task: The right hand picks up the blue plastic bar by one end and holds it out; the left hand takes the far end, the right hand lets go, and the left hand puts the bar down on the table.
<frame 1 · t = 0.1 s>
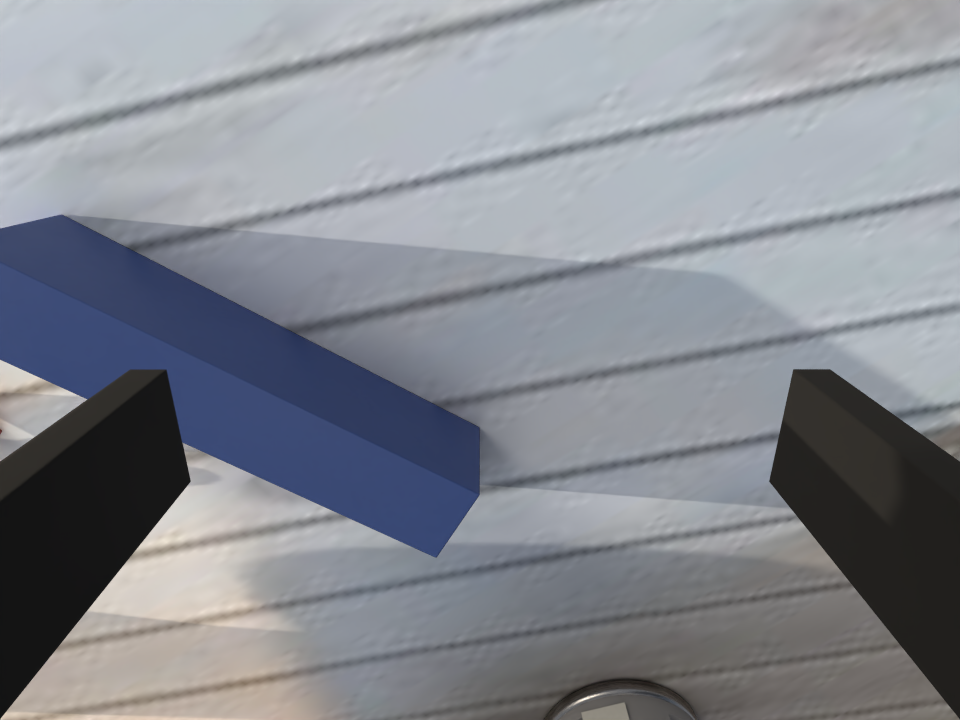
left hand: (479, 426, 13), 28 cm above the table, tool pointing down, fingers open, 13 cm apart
bar: (270, 360, 43), on the table
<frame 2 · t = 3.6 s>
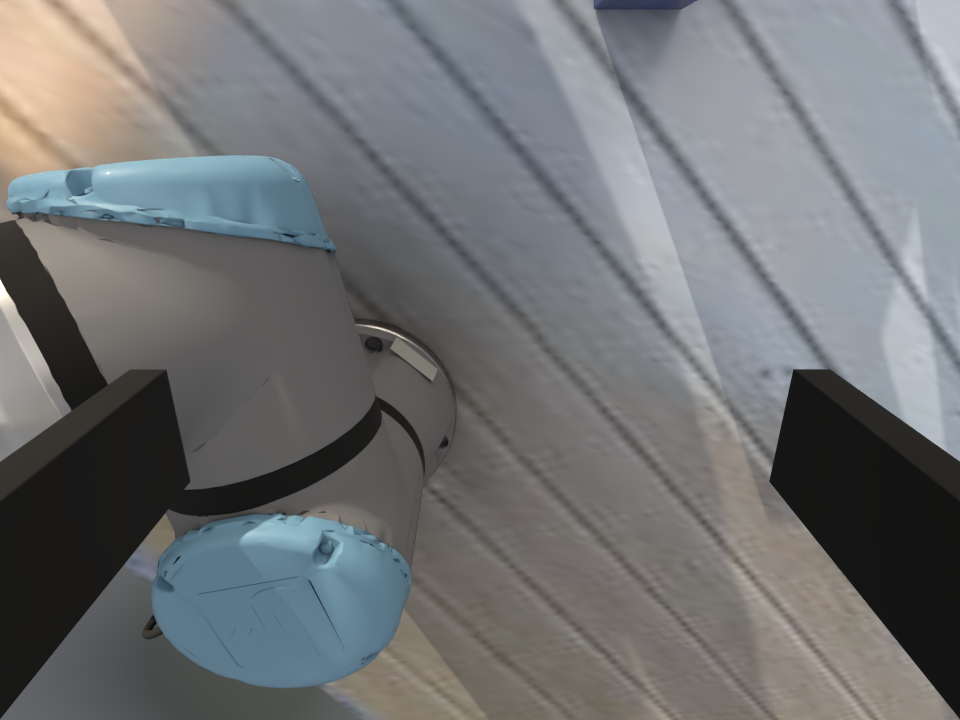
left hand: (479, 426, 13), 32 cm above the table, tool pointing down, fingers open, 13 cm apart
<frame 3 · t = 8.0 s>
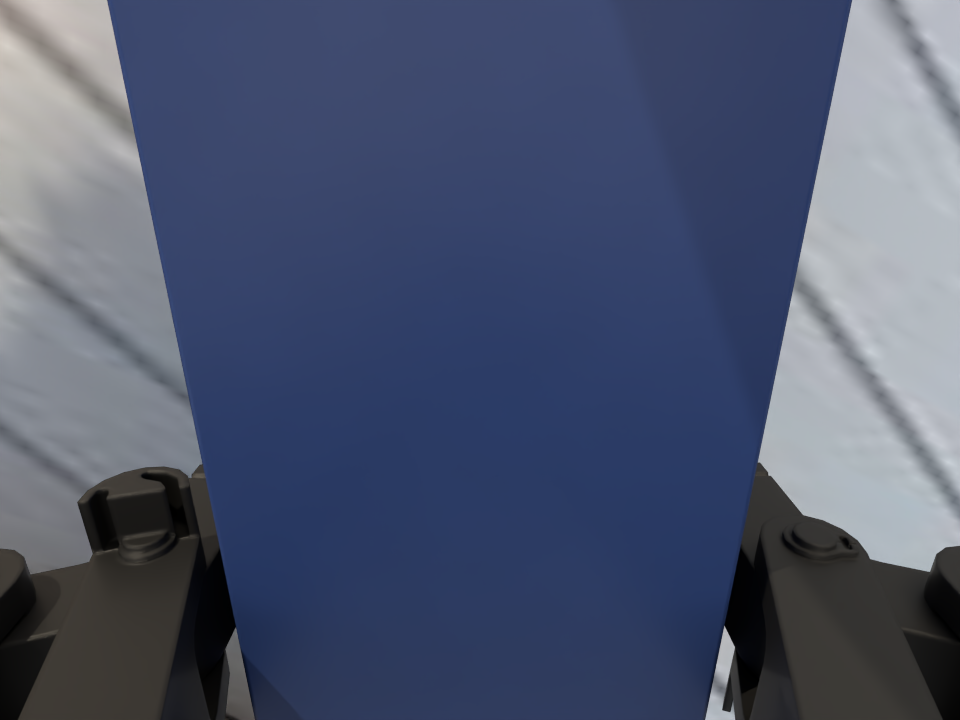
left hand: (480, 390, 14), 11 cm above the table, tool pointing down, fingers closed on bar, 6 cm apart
when the right hand's fingers open (11 cm above the table, at t = 8.7 s): bar stays where it is, held by the left hand.
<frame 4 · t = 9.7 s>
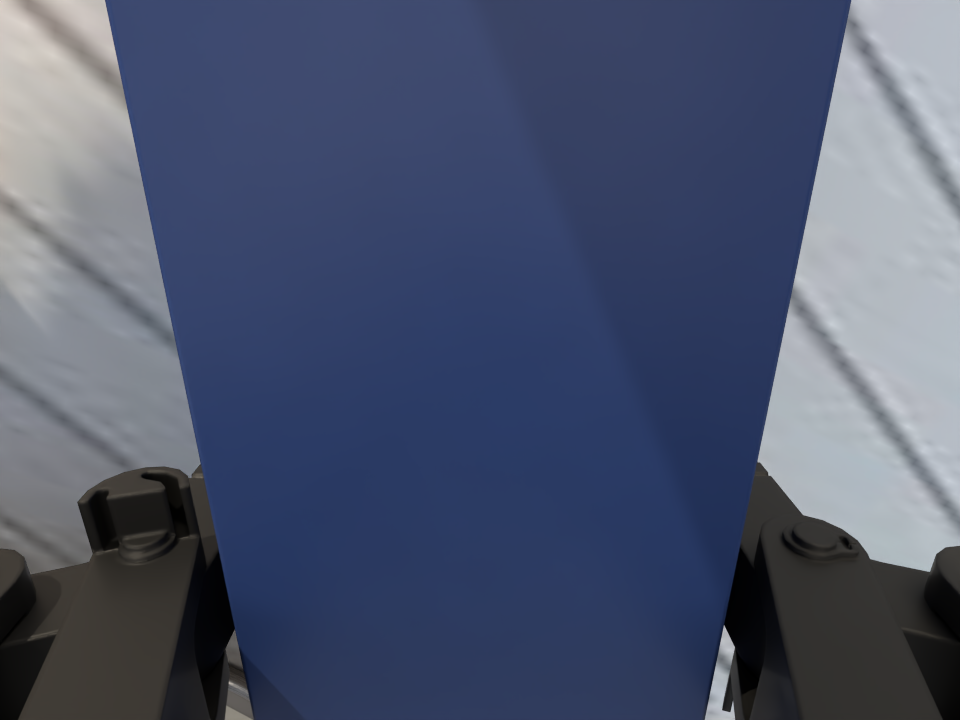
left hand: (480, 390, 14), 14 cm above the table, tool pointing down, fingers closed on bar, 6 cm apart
when the left hand's fingers open (2 cm above the table, at t = 13.5 s): bar stays where it is, on the table.
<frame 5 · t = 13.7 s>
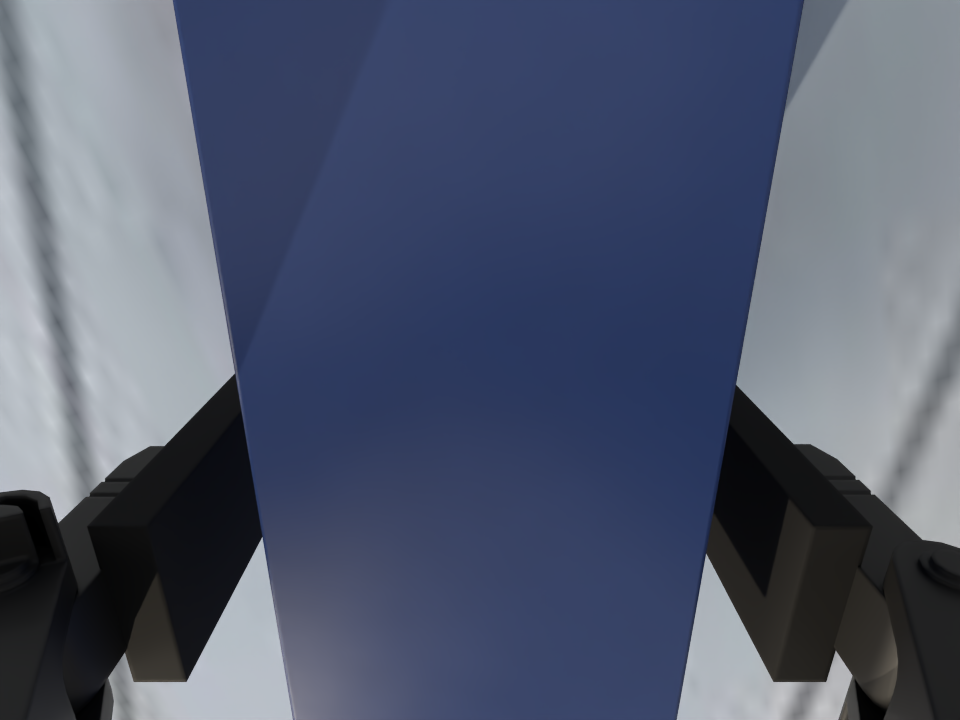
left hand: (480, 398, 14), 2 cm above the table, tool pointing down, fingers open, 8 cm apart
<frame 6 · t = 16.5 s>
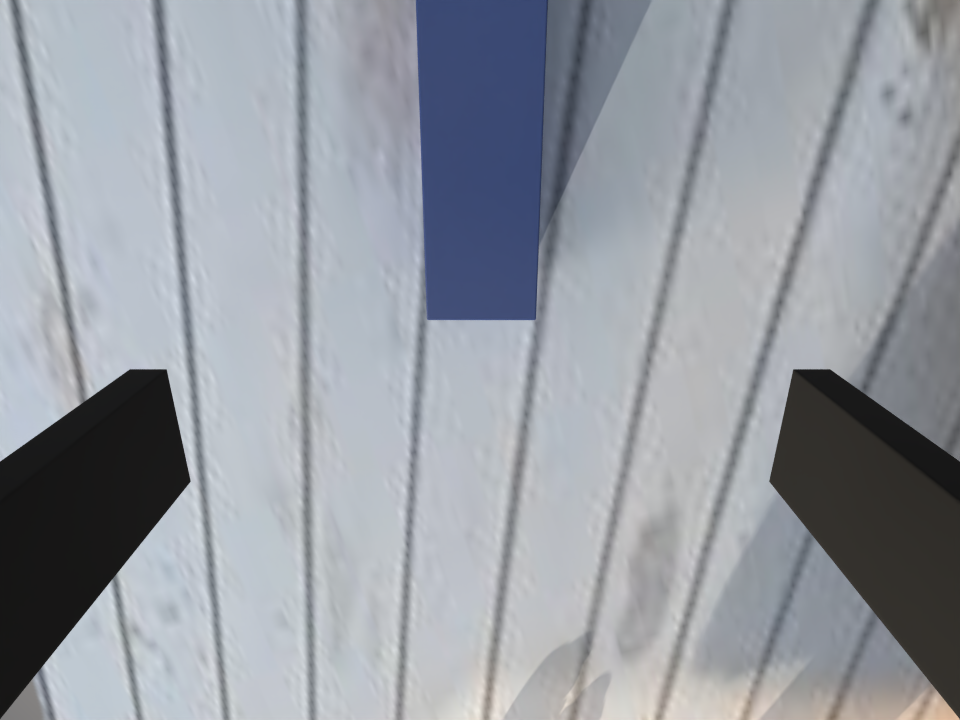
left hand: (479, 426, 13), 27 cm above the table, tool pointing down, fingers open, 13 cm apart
bar: (481, 2, 33), on the table
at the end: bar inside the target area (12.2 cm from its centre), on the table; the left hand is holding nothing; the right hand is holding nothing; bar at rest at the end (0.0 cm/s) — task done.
